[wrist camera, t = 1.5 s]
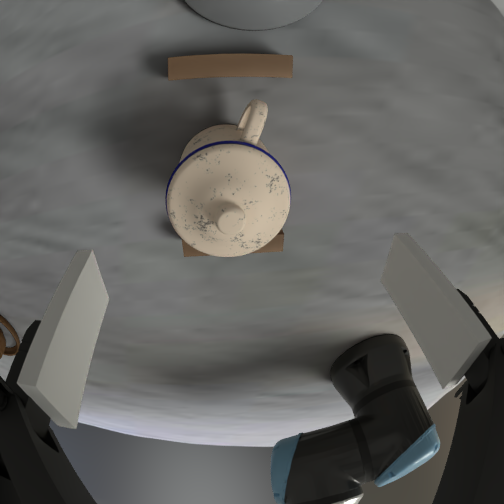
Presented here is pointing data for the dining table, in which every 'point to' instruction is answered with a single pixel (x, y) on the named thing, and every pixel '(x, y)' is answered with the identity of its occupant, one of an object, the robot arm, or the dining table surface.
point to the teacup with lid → (229, 189)
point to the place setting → (1, 342)
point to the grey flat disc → (253, 12)
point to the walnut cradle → (231, 68)
